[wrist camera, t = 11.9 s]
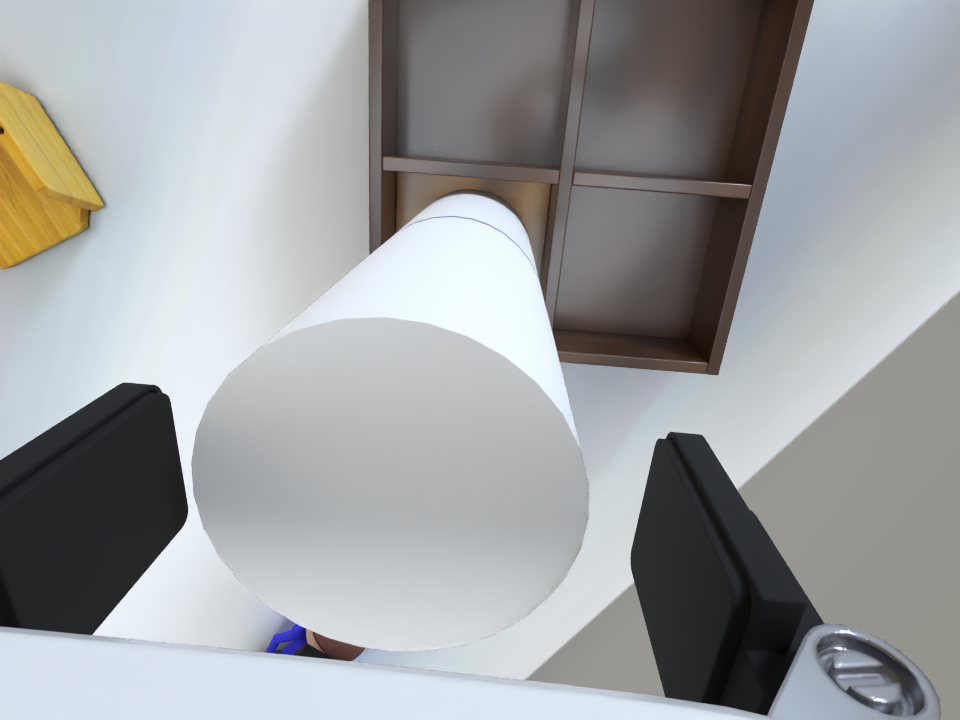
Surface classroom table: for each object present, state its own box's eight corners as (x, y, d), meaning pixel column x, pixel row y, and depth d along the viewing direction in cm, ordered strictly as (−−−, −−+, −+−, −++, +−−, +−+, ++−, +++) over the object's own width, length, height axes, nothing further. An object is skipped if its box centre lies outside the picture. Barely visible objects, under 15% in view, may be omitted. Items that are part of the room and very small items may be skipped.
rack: (777, -19, 28) (826, -47, 24) (692, 347, 36) (718, 375, 31) (388, -47, 28) (367, -80, 24) (385, 322, 36) (369, 346, 32)
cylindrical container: (550, 219, 32) (666, 422, 9) (499, 325, 35) (488, 694, 12) (438, 167, 31) (249, 242, 8) (394, 279, 34) (155, 577, 11)
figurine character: (307, 685, 51) (399, 610, 45) (270, 776, 44) (372, 703, 38) (246, 649, 50) (332, 566, 43) (197, 737, 43) (291, 655, 37)
